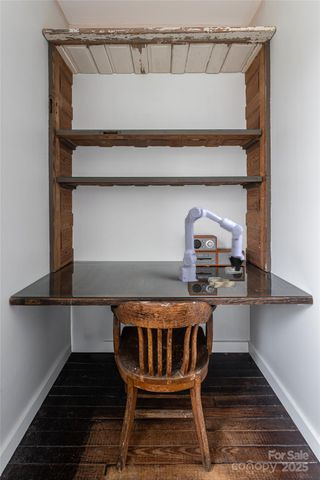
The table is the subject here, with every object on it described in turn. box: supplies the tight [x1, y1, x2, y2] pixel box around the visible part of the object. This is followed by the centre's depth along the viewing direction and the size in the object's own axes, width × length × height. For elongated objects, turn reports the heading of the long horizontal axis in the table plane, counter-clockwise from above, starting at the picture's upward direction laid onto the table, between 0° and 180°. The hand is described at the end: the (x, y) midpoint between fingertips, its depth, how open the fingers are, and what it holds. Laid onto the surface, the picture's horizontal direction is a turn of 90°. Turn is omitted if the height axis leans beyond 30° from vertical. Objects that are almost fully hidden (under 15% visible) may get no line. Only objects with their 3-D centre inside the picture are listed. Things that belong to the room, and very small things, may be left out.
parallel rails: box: [208, 278, 236, 289], centre depth 175 cm, size 12×7×2 cm, turn 106°
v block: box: [207, 276, 225, 283], centre depth 182 cm, size 8×5×2 cm, turn 106°
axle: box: [223, 266, 243, 275], centre depth 176 cm, size 9×4×4 cm, turn 106°
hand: (235, 270), depth 177 cm, fingers closed on axle, 4 cm apart
